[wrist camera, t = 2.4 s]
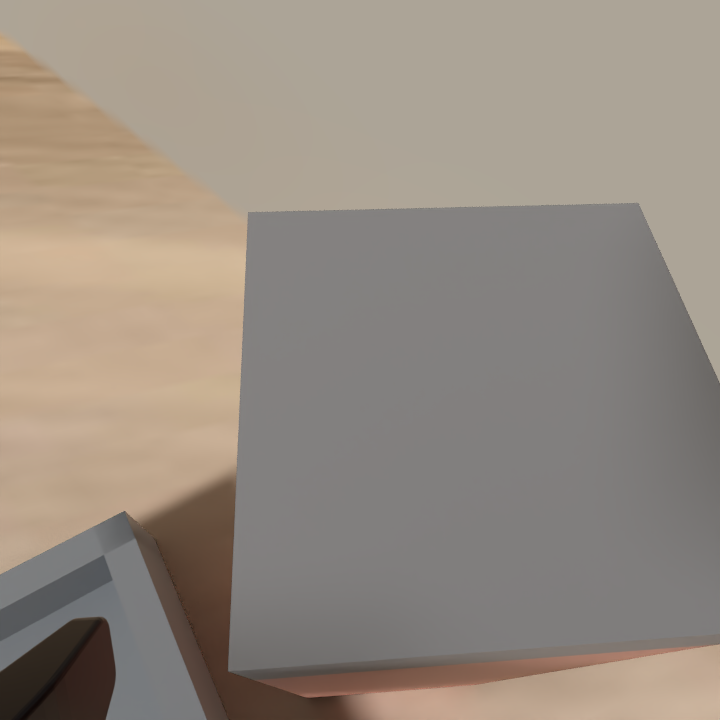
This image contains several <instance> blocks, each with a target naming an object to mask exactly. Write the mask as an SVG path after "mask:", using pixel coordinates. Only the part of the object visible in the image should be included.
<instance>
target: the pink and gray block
mask: <svg viewBox="0 0 720 720" xmlns="http://www.w3.org/2000/svg"><path fill="white" fill-rule="evenodd" d="M716 644H720V383H719V381H718V379H717V376H716V374H715V372H714V370H713V368H712V366H711V363H710V361H709V359H708V356H707V354H706V352H705V350H704V348H703V345H702V343H701V341H700V339H699V336H698V334H697V332H696V330H695V328H694V325H693V323H692V321H691V319H690V317H689V314H688V312H687V310H686V308H685V306H684V303H683V301H682V299H681V297H680V294H679V292H678V290H677V288H676V286H675V283H674V281H673V279H672V277H671V274H670V272H669V270H668V268H667V266H666V263H665V261H664V259H663V257H662V255H661V252H660V250H659V248H658V246H657V243H656V241H655V239H654V237H653V235H652V232H651V230H650V228H649V226H648V223H647V221H646V219H645V217H644V215H643V212H642V210H641V208H640V206H639V204H638V203H629V204H628V203H627V204H585V205H584V204H583V205H541V206H498V207H455V208H418V209H417V208H415V209H375V210H374V209H371V210H329V211H287V212H286V211H285V212H248V228H247V251H246V273H245V296H244V319H243V341H242V364H241V387H240V409H239V432H238V455H237V477H236V500H235V523H234V545H233V568H232V591H231V613H230V636H229V659H228V672H231V673H234V674H237V675H240V676H243V677H246V678H249V679H252V680H255V681H258V682H261V683H264V684H267V685H270V686H273V687H276V688H279V689H282V690H285V691H288V692H291V693H294V694H297V695H300V696H303V697H306V698H315V697H327V696H340V695H352V694H365V693H377V692H390V691H403V690H415V689H428V688H440V687H453V686H465V685H476V684H482V683H488V682H494V681H500V680H506V679H512V678H518V677H524V676H530V675H536V674H542V673H548V672H554V671H560V670H566V669H572V668H578V667H584V666H590V665H596V664H602V663H608V662H614V661H620V660H626V659H632V658H638V657H644V656H650V655H656V654H662V653H668V652H674V651H680V650H686V649H692V648H698V647H704V646H710V645H716Z"/></svg>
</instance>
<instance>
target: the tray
mask: <svg viewBox="0 0 720 720" xmlns="http://www.w3.org/2000/svg"><path fill="white" fill-rule="evenodd" d="M100 616H101V617H104V618H105V619H107V622H108V624H109V627H110V633H111V640H112V646H113V653H114V659H115V666H116V680H115V687H114V691H113V695H112V698H111V702H110V706H109V709H108V713H107V717H106V720H229V719H228V717H227V715H226V712H225V710H224V707H223V705H222V702H221V700H220V697H219V695H218V693H217V690H216V688H215V685H214V683H213V680H212V678H211V676H210V673H209V671H208V668H207V666H206V663H205V661H204V658H203V656H202V654H201V651H200V649H199V646H198V644H197V641H196V639H195V637H194V634H193V632H192V629H191V627H190V624H189V622H188V619H187V617H186V615H185V612H184V610H183V607H182V605H181V602H180V600H179V598H178V595H177V593H176V590H175V588H174V585H173V583H172V580H171V578H170V576H169V573H168V571H167V568H166V566H165V563H164V561H163V559H162V556H161V554H160V551H159V549H158V546H157V544H156V542H155V539H154V538H153V537H152V536H151V535H150V534H149V533H148V532H147V531H146V530H145V529H144V528H142V527H141V526H140V525H139V524H138V523H137V522H136V521H135V520H134V519H133V518H132V517H131V516H130V515H128V514H127V513H126V512H125V511H123V512H121V513H119V514H117V515H116V516H114V517H112V518H110V519H108V520H106V521H104V522H102V523H100V524H98V525H96V526H94V527H92V528H90V529H88V530H86V531H84V532H82V533H80V534H79V535H77V536H75V537H73V538H71V539H69V540H67V541H65V542H63V543H61V544H59V545H57V546H55V547H53V548H51V549H49V550H47V551H45V552H43V553H42V554H40V555H38V556H36V557H34V558H32V559H30V560H28V561H26V562H24V563H22V564H20V565H18V566H16V567H14V568H12V569H10V570H8V571H6V572H4V573H3V574H1V575H0V671H2V670H3V669H4V668H6V667H7V666H8V665H10V664H11V663H13V662H14V661H15V660H17V659H18V658H19V657H21V656H22V655H23V654H25V653H26V652H28V651H29V650H30V649H32V648H33V647H34V646H36V645H37V644H39V643H40V642H41V641H43V640H44V639H45V638H47V637H48V636H50V635H51V634H52V633H54V632H55V631H56V630H58V629H59V628H60V627H62V626H63V625H65V624H66V623H67V622H69V621H70V620H72V619H75V618H85V617H100Z"/></svg>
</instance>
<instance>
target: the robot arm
mask: <svg viewBox="0 0 720 720" xmlns="http://www.w3.org/2000/svg"><path fill="white" fill-rule="evenodd" d="M115 680H116V666H115V659H114V653H113V646H112V640H111V633H110V627H109V624H108V622H107V619H105V618H104V617H101V616H100V617H85V618H75V619H72V620H70V621H69V622H67V623H66V624H65V625H63V626H62V627H60V628H59V629H58V630H56V631H55V632H54V633H52V634H51V635H50V636H48V637H47V638H45V639H44V640H43V641H41V642H40V643H39V644H37V645H36V646H34V647H33V648H32V649H30V650H29V651H28V652H26V653H25V654H23V655H22V656H21V657H19V658H18V659H17V660H15V661H14V662H13V663H11V664H10V665H8V666H7V667H6V668H4V669H3V670H2V671H0V720H106V717H107V713H108V709H109V706H110V702H111V698H112V695H113V691H114V687H115Z"/></svg>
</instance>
